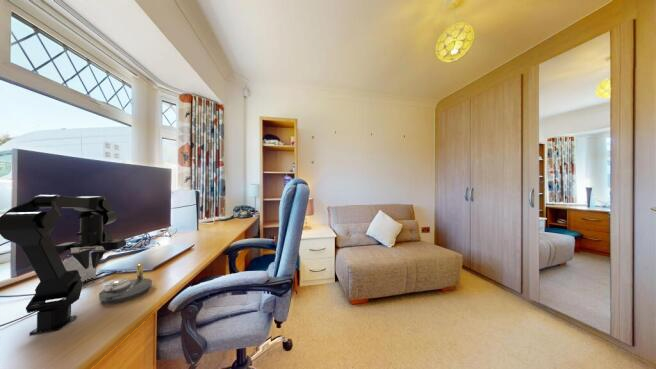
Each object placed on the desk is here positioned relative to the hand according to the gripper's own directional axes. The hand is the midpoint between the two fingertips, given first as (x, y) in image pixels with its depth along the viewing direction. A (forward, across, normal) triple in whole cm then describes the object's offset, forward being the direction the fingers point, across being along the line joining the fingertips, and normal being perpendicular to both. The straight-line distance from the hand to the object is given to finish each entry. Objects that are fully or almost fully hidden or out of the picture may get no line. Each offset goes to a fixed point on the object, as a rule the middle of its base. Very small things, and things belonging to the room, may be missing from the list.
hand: (90, 268), depth 76 cm
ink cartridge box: (+12, +17, -20) cm, 29 cm away
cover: (+9, -8, 0) cm, 12 cm away
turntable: (+11, -11, -1) cm, 16 cm away
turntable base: (+12, -11, 0) cm, 16 cm away
